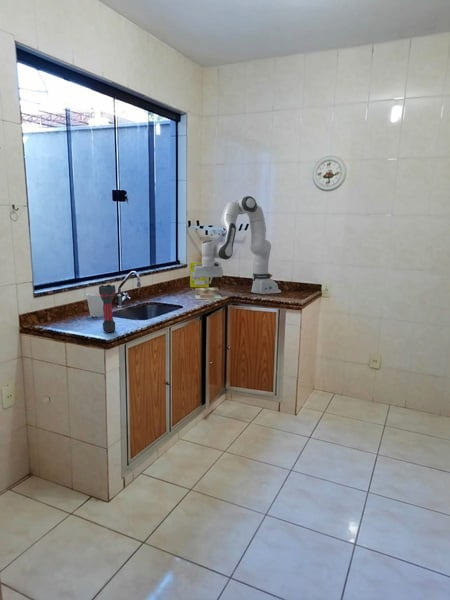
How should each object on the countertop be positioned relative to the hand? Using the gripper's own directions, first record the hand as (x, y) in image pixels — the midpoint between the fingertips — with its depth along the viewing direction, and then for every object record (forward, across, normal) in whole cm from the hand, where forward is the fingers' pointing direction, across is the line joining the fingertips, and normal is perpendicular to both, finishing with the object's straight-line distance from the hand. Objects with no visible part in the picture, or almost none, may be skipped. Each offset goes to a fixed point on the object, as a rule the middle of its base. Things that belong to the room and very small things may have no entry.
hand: (208, 283), depth 290 cm
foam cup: (+9, -58, -64) cm, 87 cm away
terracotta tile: (+7, -2, -4) cm, 8 cm away
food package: (+9, -12, +42) cm, 45 cm away
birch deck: (+9, -3, +10) cm, 14 cm away
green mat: (+10, 0, -2) cm, 10 cm away
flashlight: (+10, -40, -96) cm, 104 cm away
